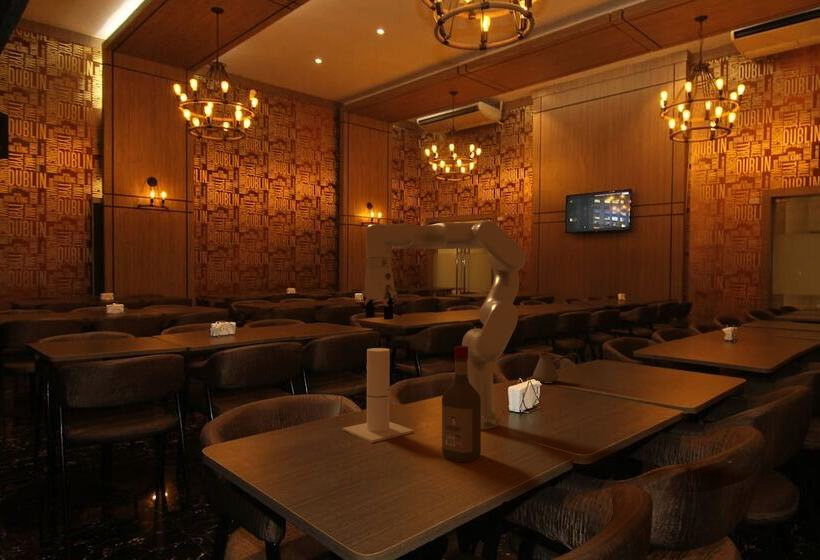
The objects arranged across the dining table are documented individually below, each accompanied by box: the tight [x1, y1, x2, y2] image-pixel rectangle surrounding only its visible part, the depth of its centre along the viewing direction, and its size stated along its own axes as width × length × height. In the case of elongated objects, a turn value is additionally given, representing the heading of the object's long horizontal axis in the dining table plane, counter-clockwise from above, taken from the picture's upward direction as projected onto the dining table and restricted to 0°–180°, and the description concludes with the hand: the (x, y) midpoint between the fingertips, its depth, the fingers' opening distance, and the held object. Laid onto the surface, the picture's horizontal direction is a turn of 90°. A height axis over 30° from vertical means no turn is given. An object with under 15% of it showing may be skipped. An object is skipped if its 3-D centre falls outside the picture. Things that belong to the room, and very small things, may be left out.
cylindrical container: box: [366, 347, 391, 432], centre depth 169 cm, size 7×7×25 cm
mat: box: [342, 421, 415, 444], centre depth 169 cm, size 16×16×1 cm
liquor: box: [441, 345, 482, 464], centre depth 146 cm, size 9×9×30 cm
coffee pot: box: [532, 352, 579, 384], centre depth 242 cm, size 21×12×15 cm, turn 45°
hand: (379, 318), depth 169 cm, fingers open, 9 cm apart
